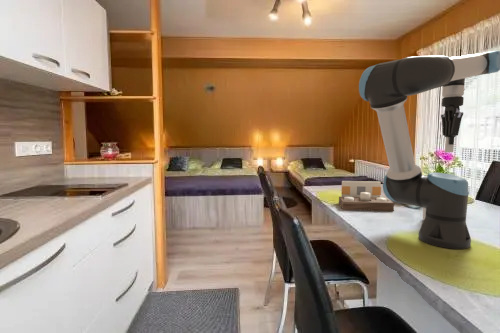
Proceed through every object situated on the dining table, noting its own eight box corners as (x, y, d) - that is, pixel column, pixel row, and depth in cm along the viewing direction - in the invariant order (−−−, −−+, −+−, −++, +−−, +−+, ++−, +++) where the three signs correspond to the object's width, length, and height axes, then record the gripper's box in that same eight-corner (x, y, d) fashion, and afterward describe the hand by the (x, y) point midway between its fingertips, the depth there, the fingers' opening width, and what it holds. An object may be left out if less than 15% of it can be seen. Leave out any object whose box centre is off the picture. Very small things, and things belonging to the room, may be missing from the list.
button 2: (371, 202, 145) (371, 194, 145) (361, 202, 146) (361, 193, 146) (368, 200, 150) (369, 192, 150) (359, 200, 151) (359, 191, 150)
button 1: (387, 208, 145) (388, 199, 144) (377, 207, 145) (378, 199, 145) (384, 205, 149) (385, 197, 149) (374, 205, 150) (375, 197, 149)
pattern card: (380, 203, 156) (381, 181, 154) (341, 202, 158) (341, 181, 157) (379, 203, 157) (380, 181, 156) (340, 202, 160) (341, 180, 158)
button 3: (354, 207, 147) (354, 198, 146) (344, 206, 147) (345, 198, 147) (352, 204, 151) (352, 196, 151) (343, 204, 152) (343, 196, 152)
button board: (393, 211, 141) (394, 203, 140) (342, 209, 144) (343, 201, 144) (385, 205, 153) (385, 197, 152) (338, 203, 156) (338, 196, 155)
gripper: (472, 94, 116) (467, 153, 119) (453, 98, 129) (450, 151, 131) (451, 95, 117) (447, 153, 120) (435, 98, 130) (432, 151, 132)
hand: (448, 152), depth 125 cm, fingers closed
